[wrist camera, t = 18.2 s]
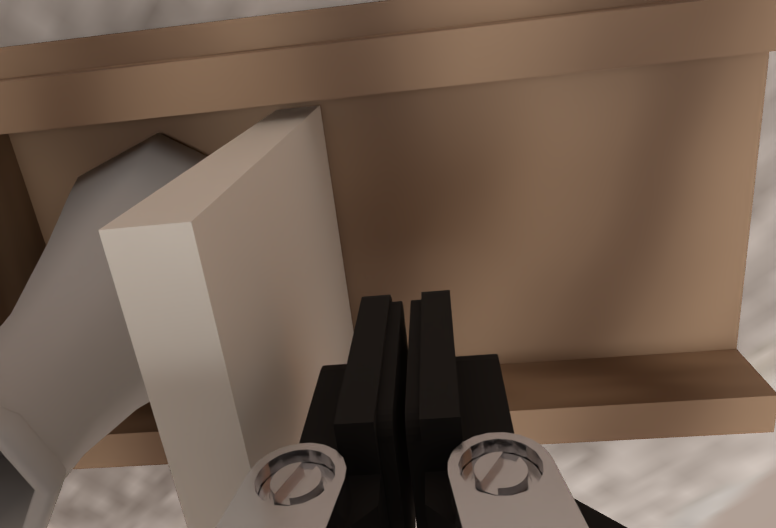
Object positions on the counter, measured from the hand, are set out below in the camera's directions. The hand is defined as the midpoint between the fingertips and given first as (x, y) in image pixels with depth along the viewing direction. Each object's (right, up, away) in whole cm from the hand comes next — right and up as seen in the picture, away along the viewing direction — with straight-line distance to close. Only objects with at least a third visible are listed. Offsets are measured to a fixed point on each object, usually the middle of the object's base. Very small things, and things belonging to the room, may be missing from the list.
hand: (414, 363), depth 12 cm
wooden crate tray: (-1, +3, +8) cm, 8 cm away
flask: (-7, +2, +7) cm, 10 cm away
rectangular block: (-2, +2, +7) cm, 7 cm away
